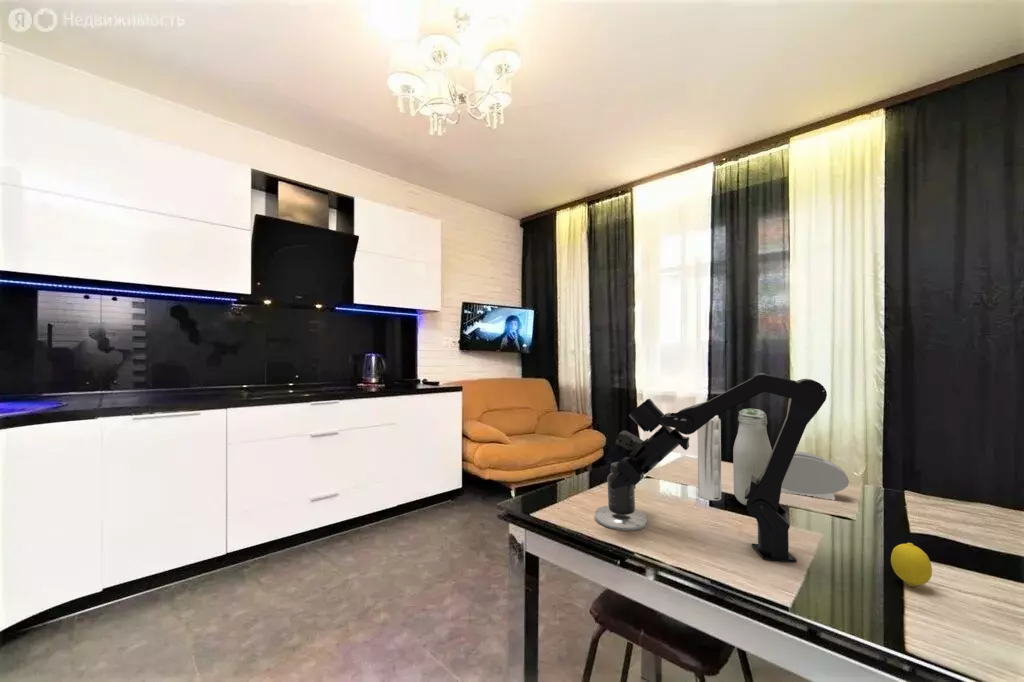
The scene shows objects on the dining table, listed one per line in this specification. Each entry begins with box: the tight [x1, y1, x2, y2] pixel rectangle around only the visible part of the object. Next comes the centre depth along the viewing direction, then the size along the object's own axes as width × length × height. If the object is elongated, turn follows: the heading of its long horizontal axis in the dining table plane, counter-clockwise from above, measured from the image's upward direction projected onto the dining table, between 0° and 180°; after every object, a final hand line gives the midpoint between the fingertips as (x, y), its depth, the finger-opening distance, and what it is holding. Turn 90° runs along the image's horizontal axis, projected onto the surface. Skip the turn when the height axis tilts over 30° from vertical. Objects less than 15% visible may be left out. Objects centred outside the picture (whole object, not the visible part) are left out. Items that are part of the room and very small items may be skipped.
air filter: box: [696, 415, 722, 501], centre depth 125 cm, size 6×6×25 cm
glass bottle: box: [732, 408, 773, 506], centre depth 117 cm, size 10×10×28 cm
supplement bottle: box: [606, 461, 636, 515], centre depth 106 cm, size 7×7×12 cm
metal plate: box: [594, 505, 648, 532], centre depth 106 cm, size 13×13×2 cm
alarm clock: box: [781, 450, 850, 501], centre depth 129 cm, size 23×6×13 cm, turn 57°
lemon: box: [890, 542, 933, 587], centre depth 77 cm, size 6×6×8 cm
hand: (615, 483), depth 107 cm, fingers closed on supplement bottle, 7 cm apart
